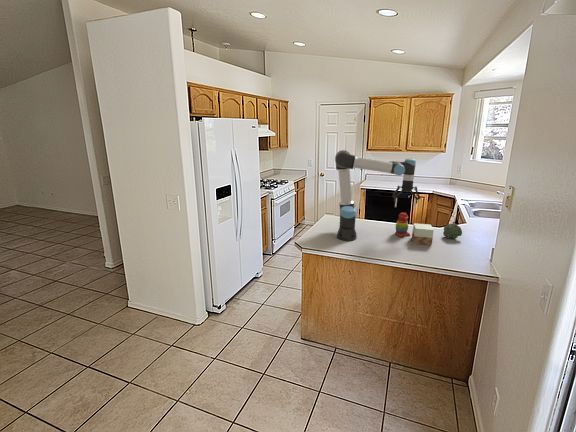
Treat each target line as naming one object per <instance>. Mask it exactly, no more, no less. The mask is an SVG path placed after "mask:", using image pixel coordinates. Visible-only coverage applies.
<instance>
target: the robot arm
mask: <svg viewBox="0 0 576 432" xmlns="http://www.w3.org/2000/svg"><path fill="white" fill-rule="evenodd" d="M334 162H335V169H336V171H338V180H339V181H338V183H339V193H340V202H339V225H338V226H339V227H338V231H337V232H336V238H337V239H338V240H341V241H348V242H349V241H350V242H353V241H355V240H357V231H356V218H357V217H356V215H357V209H356V208H355V201H354V200H353V196H352V185H351V183H352V182H351V170H353V169H361V170H365V171H371V172H379V173H380V172H381V173H386V174H392V175H396V176H403V177H402V179H403V180H402V184H401V185H397V188H396V189H395V191H393V194H392V195H391V197H392V198H393V203H394V208H397V205H398V204H397V203H398V197H400V195H402V194H403V193H410V194H411V195H412V196H413V198H414V201H413V208H414V209H416V205H417V204H418V200H421V196H420V193H419V191H418V186H414V179H415V171H416V167H417V166H416V163H417V162H416V159H414V158H405V159H404V161H394V160H392V161H382V160H376V159H370V158H364V157H357V156H356V155H354V154H351V152H349V151H348V150H346V149H345V150H338V151H337V152H336V154H335V157H334ZM400 189H401V190H400ZM399 190H400V191H399ZM413 190H414V191H415V193H414V191H413Z"/></svg>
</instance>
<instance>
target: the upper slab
mask: <svg viewBox="0 0 576 432" xmlns="http://www.w3.org/2000/svg"><path fill="white" fill-rule="evenodd" d="M412 232H413V233H414V236H417V237H429V238H434V237H433V236H434V228H433V226H432V224H428V223H427V224H426V223H413V226H412Z"/></svg>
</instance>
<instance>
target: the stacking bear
mask: <svg viewBox="0 0 576 432" xmlns="http://www.w3.org/2000/svg"><path fill="white" fill-rule="evenodd" d="M408 219H409V215H408V214H407V212H406V211H405V212H400V213H399V214H398V219H397V220H396V223H395V233H394V234H395V235H396V236H397V237H400V238H403V237H409V236H411V233H410V232H408V230H409V222H408Z"/></svg>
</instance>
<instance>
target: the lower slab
mask: <svg viewBox="0 0 576 432" xmlns="http://www.w3.org/2000/svg"><path fill="white" fill-rule="evenodd" d="M433 238H434V237H433ZM433 238H429V237H417V236H414V233H413V231H412V234H411V239H412V242H413V244H414V245H423V246H424V245H426V246H432V244H433Z"/></svg>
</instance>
